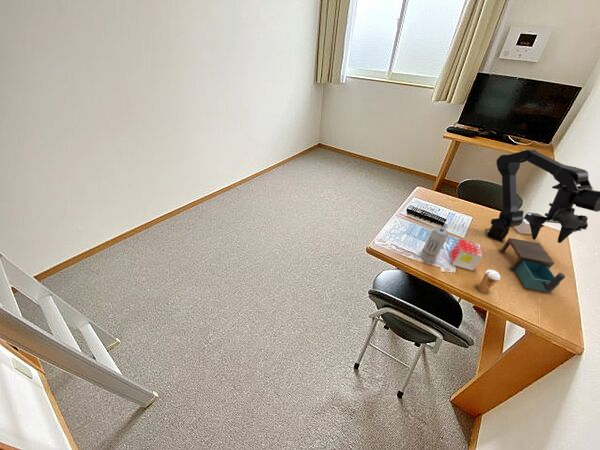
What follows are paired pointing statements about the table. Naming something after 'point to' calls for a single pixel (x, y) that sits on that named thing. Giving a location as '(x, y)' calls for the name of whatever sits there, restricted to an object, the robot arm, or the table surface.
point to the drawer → (538, 276)
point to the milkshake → (488, 280)
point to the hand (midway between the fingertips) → (546, 241)
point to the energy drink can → (434, 244)
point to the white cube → (524, 227)
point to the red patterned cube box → (466, 254)
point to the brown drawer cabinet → (527, 252)
